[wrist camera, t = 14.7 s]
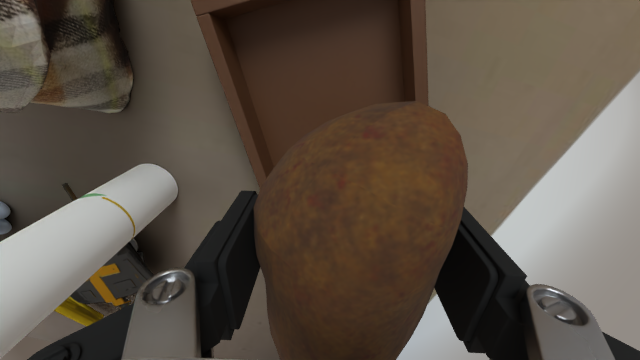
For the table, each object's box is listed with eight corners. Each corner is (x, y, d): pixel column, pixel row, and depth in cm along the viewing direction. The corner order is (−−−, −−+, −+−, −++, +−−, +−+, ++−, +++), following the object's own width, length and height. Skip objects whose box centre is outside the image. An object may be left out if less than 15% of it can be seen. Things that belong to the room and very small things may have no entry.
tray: (213, 9, 16) (189, -1, 14) (405, -46, 15) (423, -70, 12) (296, 253, 26) (292, 277, 23) (421, 235, 24) (433, 258, 21)
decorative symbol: (89, 302, 32) (142, 342, 30) (84, 307, 32) (137, 347, 29) (-20, 247, 22) (45, 299, 19) (-30, 253, 21) (35, 307, 18)
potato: (400, 361, 12) (299, 268, 15) (519, 151, 9) (362, 104, 13) (297, 526, 6) (180, 316, 10) (534, 96, 3) (250, 43, 7)
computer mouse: (-21, 204, 17) (19, 179, 21) (88, 327, 24) (104, 294, 28) (101, 182, 19) (120, 162, 23) (169, 302, 26) (176, 274, 30)
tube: (181, 173, 22) (-55, 356, 8) (174, 211, 24) (-28, 411, 10) (131, 156, 21) (-207, 322, 8) (128, 195, 23) (-150, 386, 10)
